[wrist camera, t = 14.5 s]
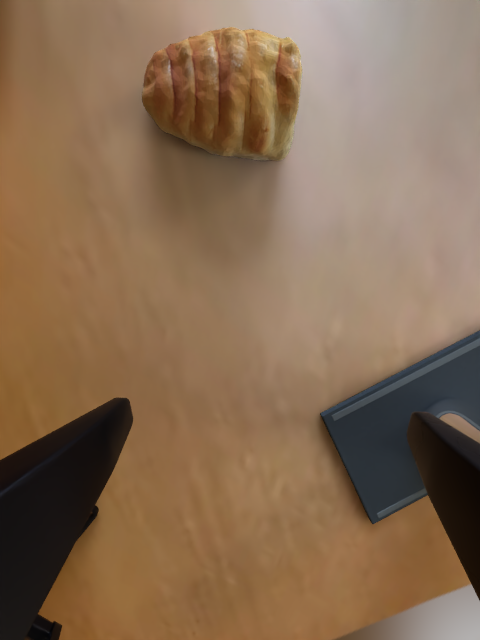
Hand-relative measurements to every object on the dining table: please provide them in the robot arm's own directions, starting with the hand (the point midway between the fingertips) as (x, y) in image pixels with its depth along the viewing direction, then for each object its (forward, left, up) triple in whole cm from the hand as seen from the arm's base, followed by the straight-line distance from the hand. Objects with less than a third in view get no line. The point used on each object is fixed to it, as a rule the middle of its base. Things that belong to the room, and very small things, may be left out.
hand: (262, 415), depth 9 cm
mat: (+6, -20, -12) cm, 24 cm away
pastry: (+12, +9, -12) cm, 19 cm away
